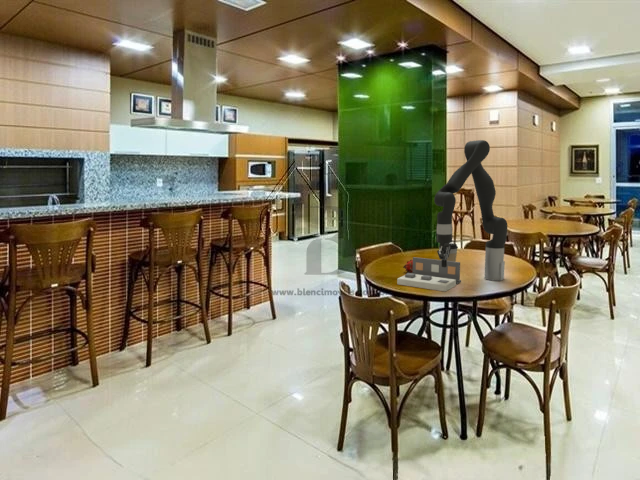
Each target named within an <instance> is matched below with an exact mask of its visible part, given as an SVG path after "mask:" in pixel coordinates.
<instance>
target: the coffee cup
mask: <svg viewBox="0 0 640 480" xmlns="http://www.w3.org/2000/svg"><path fill="white" fill-rule="evenodd" d="M449 246H450V247H451V251H450V255H449V258H448V259H447V261H453V262H457V255H458V254H457V253H458V252H457V251H458V249H459V246H458V245H457V243H452V242H451V243H449Z"/></svg>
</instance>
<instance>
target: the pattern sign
mask: <svg viewBox="0 0 640 480" xmlns="http://www.w3.org/2000/svg"><path fill="white" fill-rule="evenodd" d="M412 260H413V272H412V273H413V274H418V275H428V276H433V277H440V278H448V279H455V280H456V285H459V284H460V283H462V280H461V279H460V278H461V261H460V262H459V261H456V262H453V261H447V267H442V260H441V259H433V258H424V257H414V256H413V257H412Z"/></svg>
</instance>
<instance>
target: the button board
mask: <svg viewBox="0 0 640 480" xmlns="http://www.w3.org/2000/svg"><path fill="white" fill-rule="evenodd" d="M421 276H423V275H418V274H415V278H406V277H405V274H404V275H402V276H400V277H398V278H397V279H396V280H397V281H396V283H397V284H396V285H400V286H405V287H406V286H408V287H414V288H420V289H426V290H431V291H432V290H433V291H439V292H447V291H449V290H451V289H452V288H454V287H455V286H457V284H456V280H455V279H448V278H440V277H433V276H432V279H431V280H430V281H427V280H421ZM440 280H446V281H449V282H447V283H441V282H438V281H440Z"/></svg>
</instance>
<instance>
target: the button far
mask: <svg viewBox="0 0 640 480" xmlns="http://www.w3.org/2000/svg"><path fill="white" fill-rule="evenodd" d="M404 275H405V277H406V278H415V274H413V272H411V273H409V272H406V274H404Z"/></svg>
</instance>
